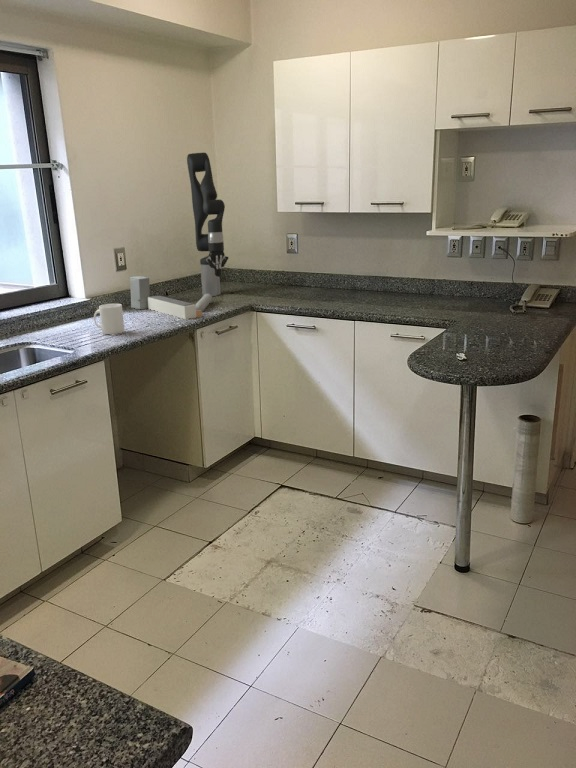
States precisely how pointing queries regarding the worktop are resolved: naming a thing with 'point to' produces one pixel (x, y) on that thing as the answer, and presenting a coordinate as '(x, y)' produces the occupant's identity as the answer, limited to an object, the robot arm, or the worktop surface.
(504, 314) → the worktop surface
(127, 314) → the worktop surface
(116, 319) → the mug
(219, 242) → the robot arm
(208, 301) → the tube
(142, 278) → the skincare box
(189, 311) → the long cream box
